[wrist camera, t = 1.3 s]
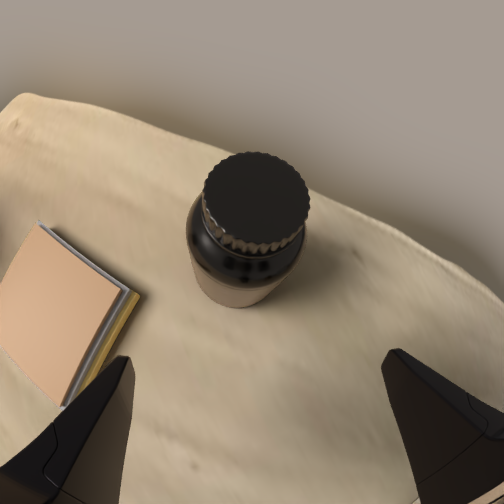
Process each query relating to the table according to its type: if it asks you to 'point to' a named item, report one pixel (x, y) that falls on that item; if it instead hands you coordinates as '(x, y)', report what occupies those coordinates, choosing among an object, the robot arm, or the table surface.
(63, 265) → the note pad
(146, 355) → the table surface
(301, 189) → the supplement bottle
